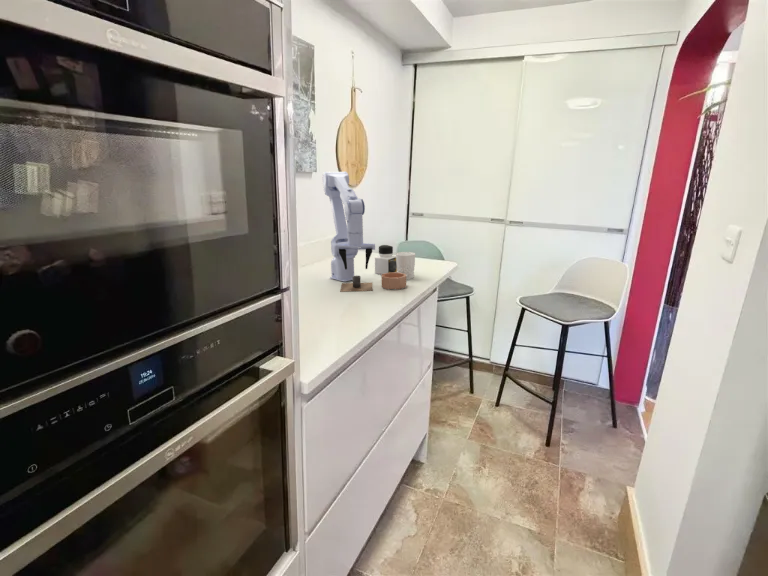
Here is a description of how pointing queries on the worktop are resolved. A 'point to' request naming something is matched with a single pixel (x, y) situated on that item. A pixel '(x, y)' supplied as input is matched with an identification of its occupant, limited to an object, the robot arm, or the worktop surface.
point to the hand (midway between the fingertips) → (356, 268)
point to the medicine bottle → (385, 260)
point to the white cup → (406, 263)
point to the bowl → (393, 280)
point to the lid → (356, 286)
